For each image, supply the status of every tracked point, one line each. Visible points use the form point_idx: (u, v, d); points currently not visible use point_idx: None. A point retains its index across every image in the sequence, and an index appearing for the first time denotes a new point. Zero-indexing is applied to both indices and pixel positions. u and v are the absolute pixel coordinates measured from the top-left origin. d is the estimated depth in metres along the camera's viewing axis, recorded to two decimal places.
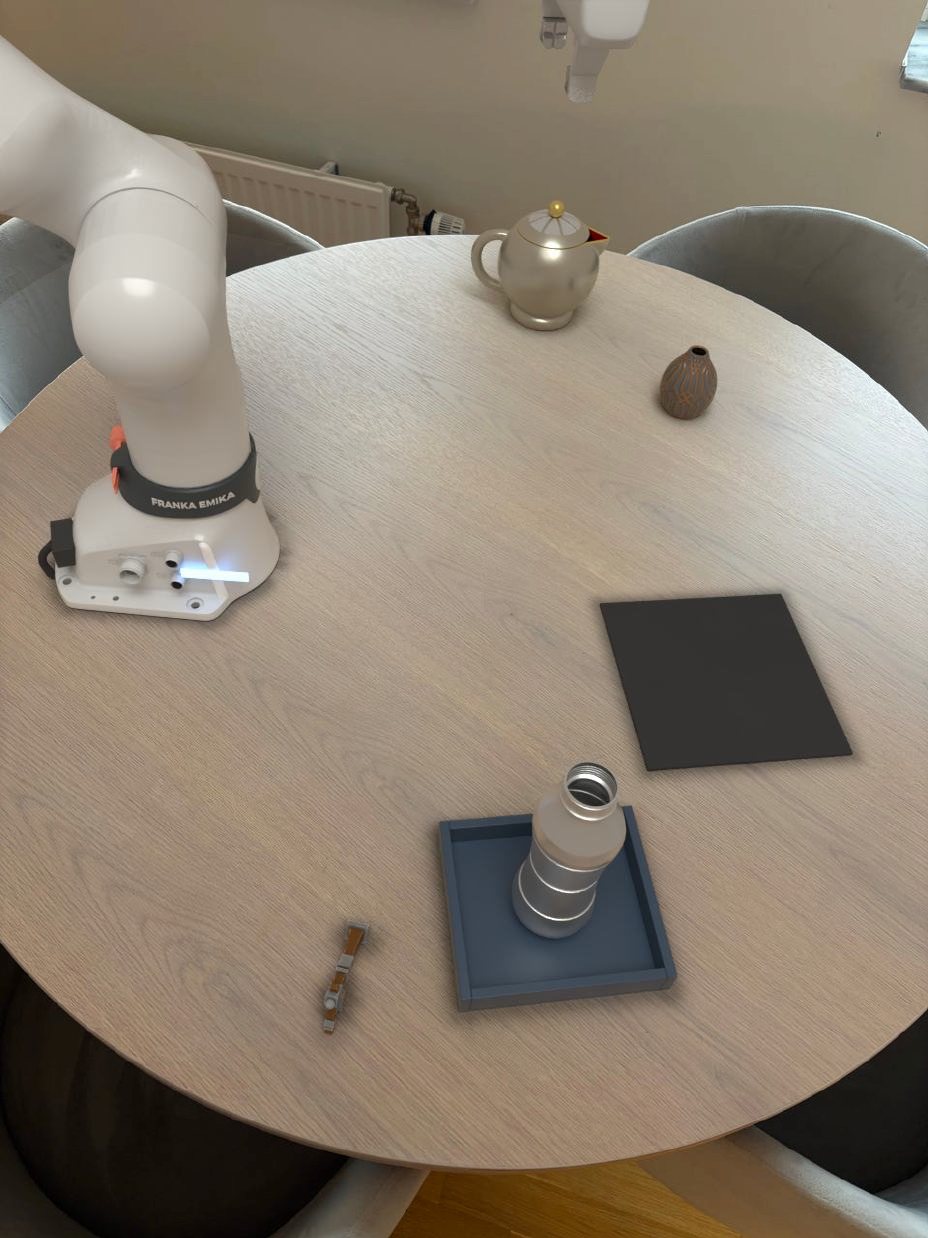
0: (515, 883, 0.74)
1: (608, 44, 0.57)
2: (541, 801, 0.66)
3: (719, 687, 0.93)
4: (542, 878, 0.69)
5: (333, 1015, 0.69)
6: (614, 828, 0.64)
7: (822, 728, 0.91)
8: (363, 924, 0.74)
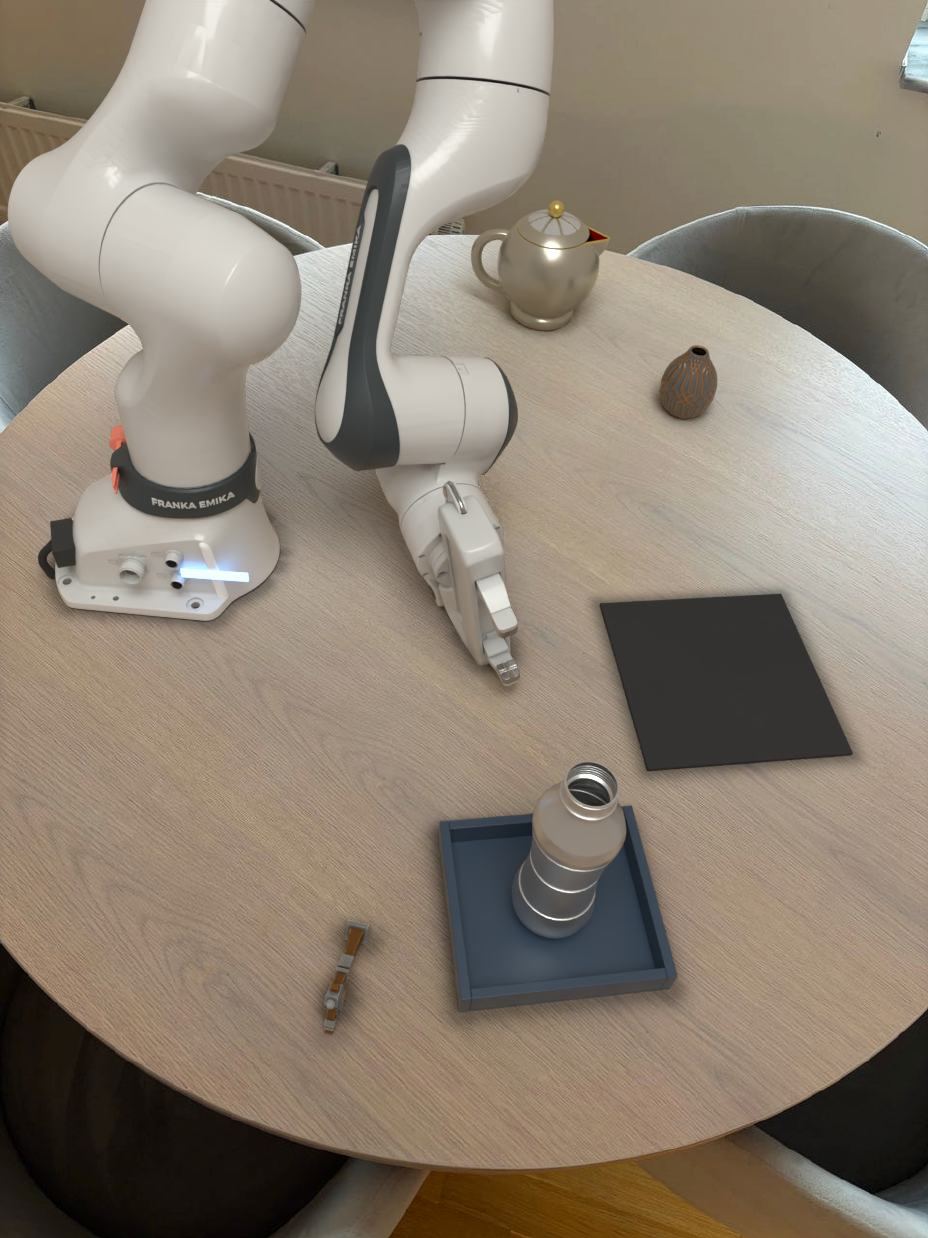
0: (515, 883, 0.74)
1: None
2: (541, 801, 0.66)
3: (719, 687, 0.93)
4: (542, 878, 0.69)
5: (333, 1015, 0.69)
6: (614, 827, 0.64)
7: (822, 728, 0.91)
8: (363, 924, 0.74)
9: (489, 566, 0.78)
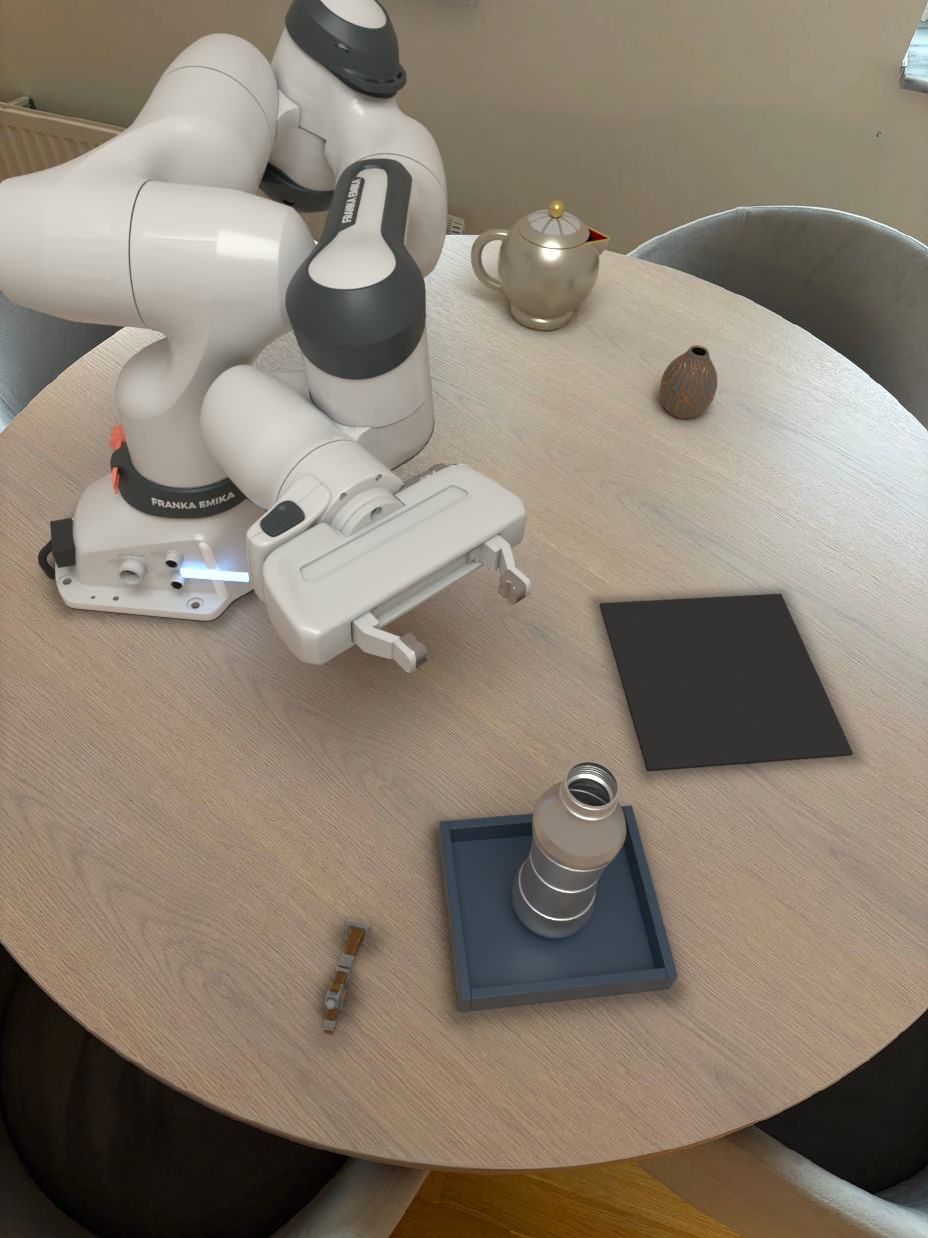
0: (515, 883, 0.74)
1: (308, 652, 0.62)
2: (541, 801, 0.66)
3: (719, 687, 0.93)
4: (542, 878, 0.69)
5: (334, 1015, 0.69)
6: (614, 827, 0.64)
7: (822, 728, 0.91)
8: (363, 924, 0.74)
9: (512, 537, 0.70)
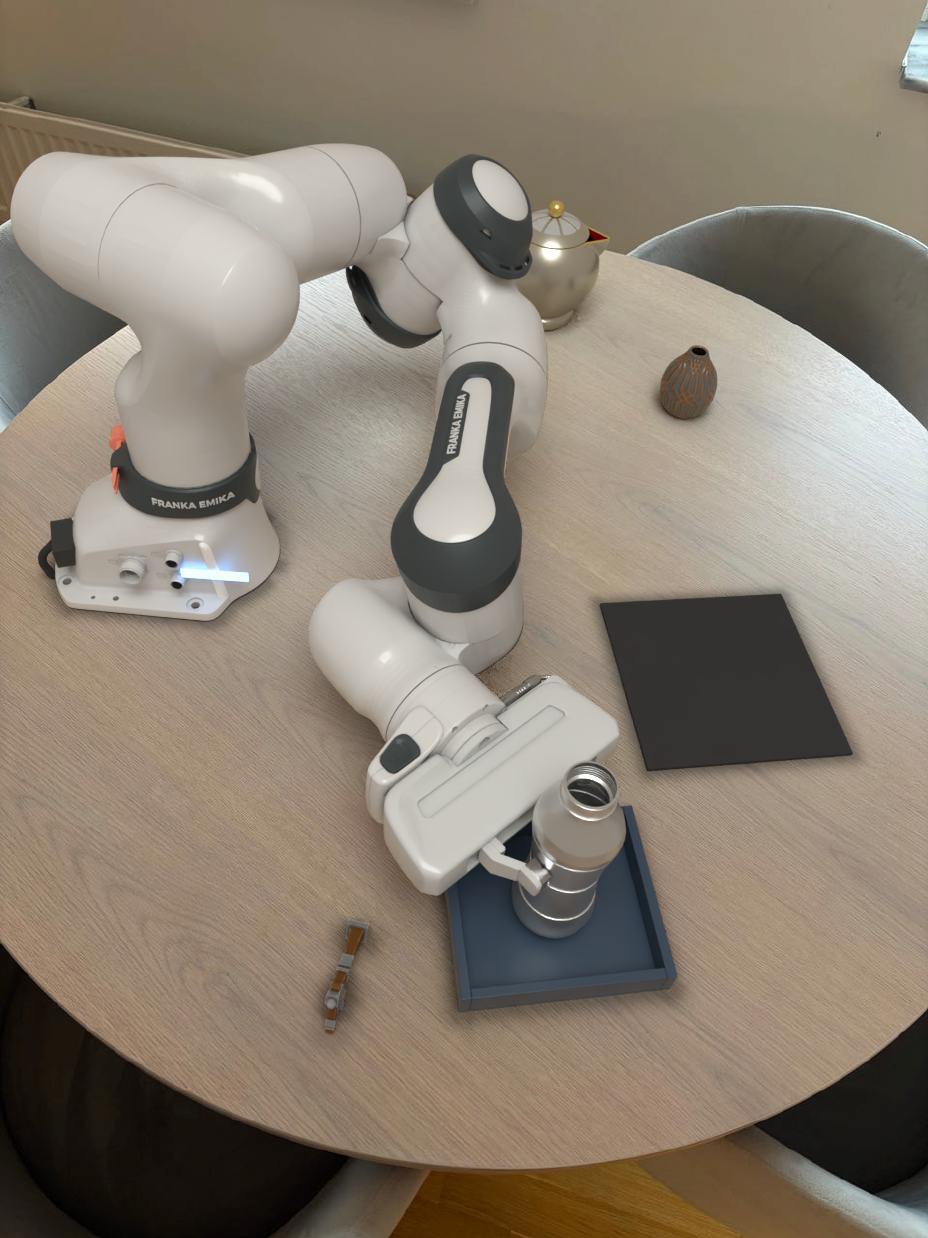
0: (515, 883, 0.74)
1: (429, 888, 0.66)
2: (541, 801, 0.66)
3: (719, 687, 0.93)
4: None
5: (334, 1014, 0.69)
6: (614, 828, 0.64)
7: (822, 728, 0.91)
8: (363, 923, 0.74)
9: (606, 755, 0.75)
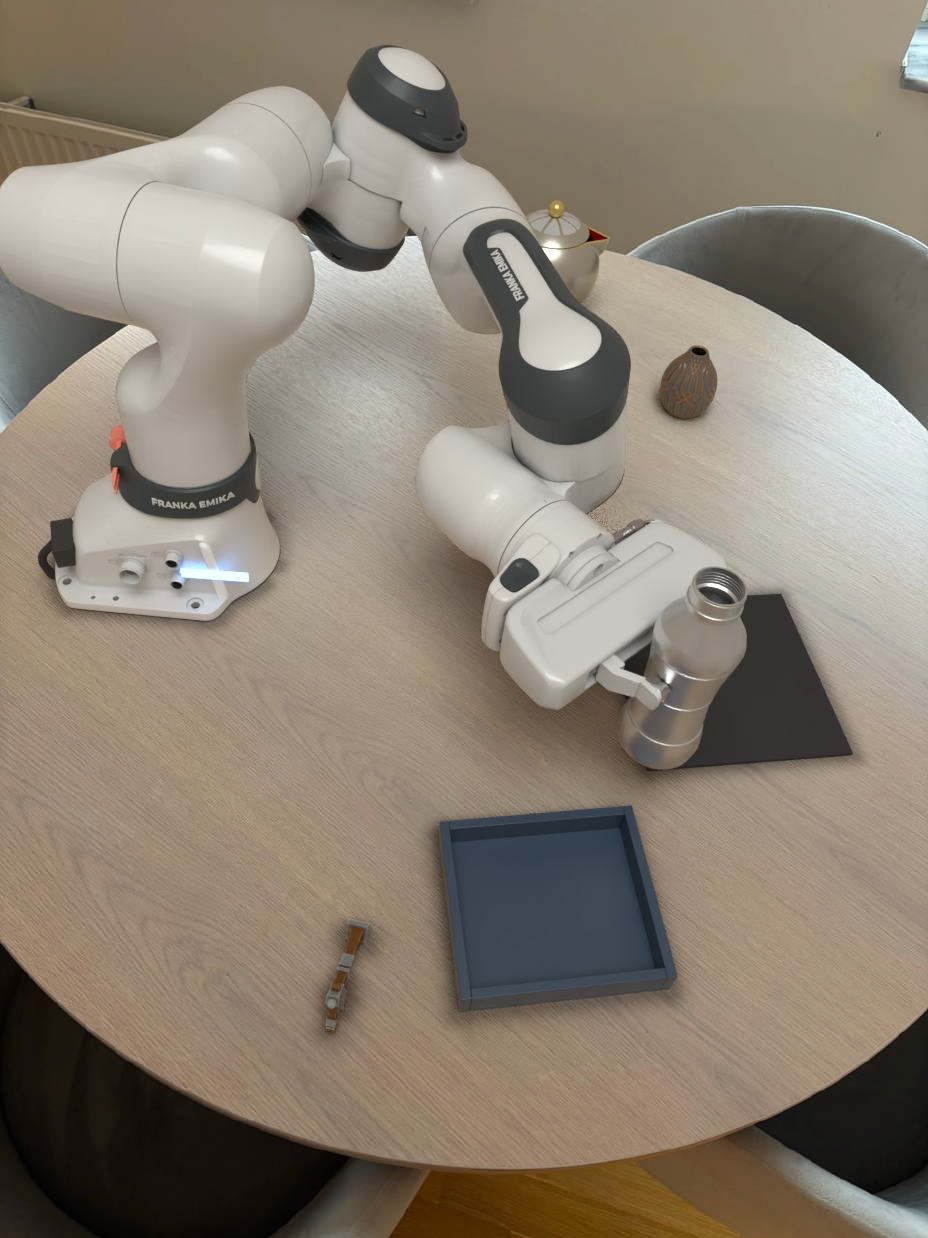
0: (623, 714, 0.76)
1: (552, 699, 0.68)
2: (663, 613, 0.67)
3: None
4: None
5: (335, 1014, 0.69)
6: (738, 634, 0.65)
7: (822, 728, 0.91)
8: (363, 923, 0.74)
9: None
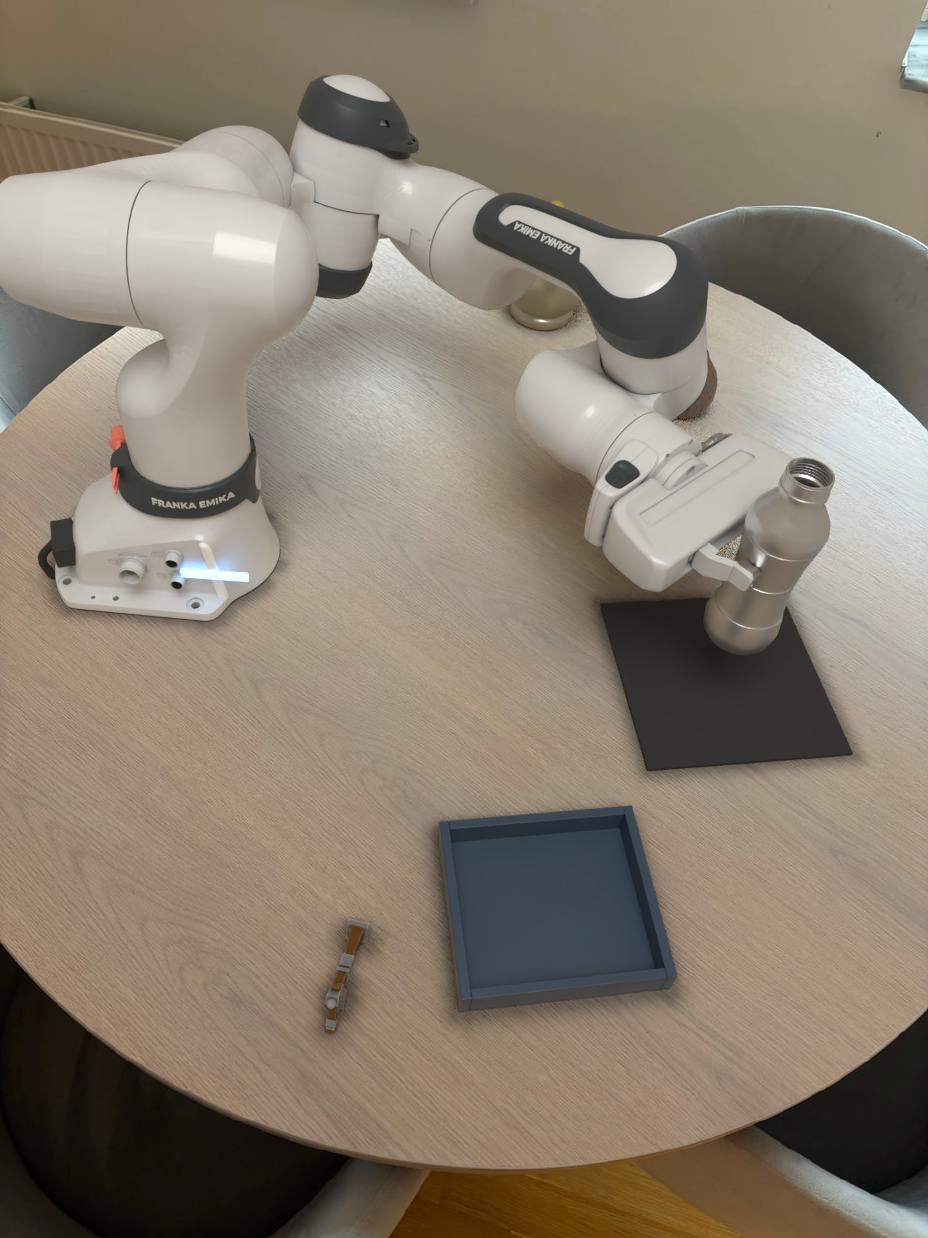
0: (711, 605, 0.84)
1: (656, 580, 0.76)
2: (756, 502, 0.75)
3: (719, 687, 0.93)
4: None
5: (335, 1014, 0.69)
6: (825, 518, 0.74)
7: (822, 728, 0.91)
8: (363, 923, 0.74)
9: None
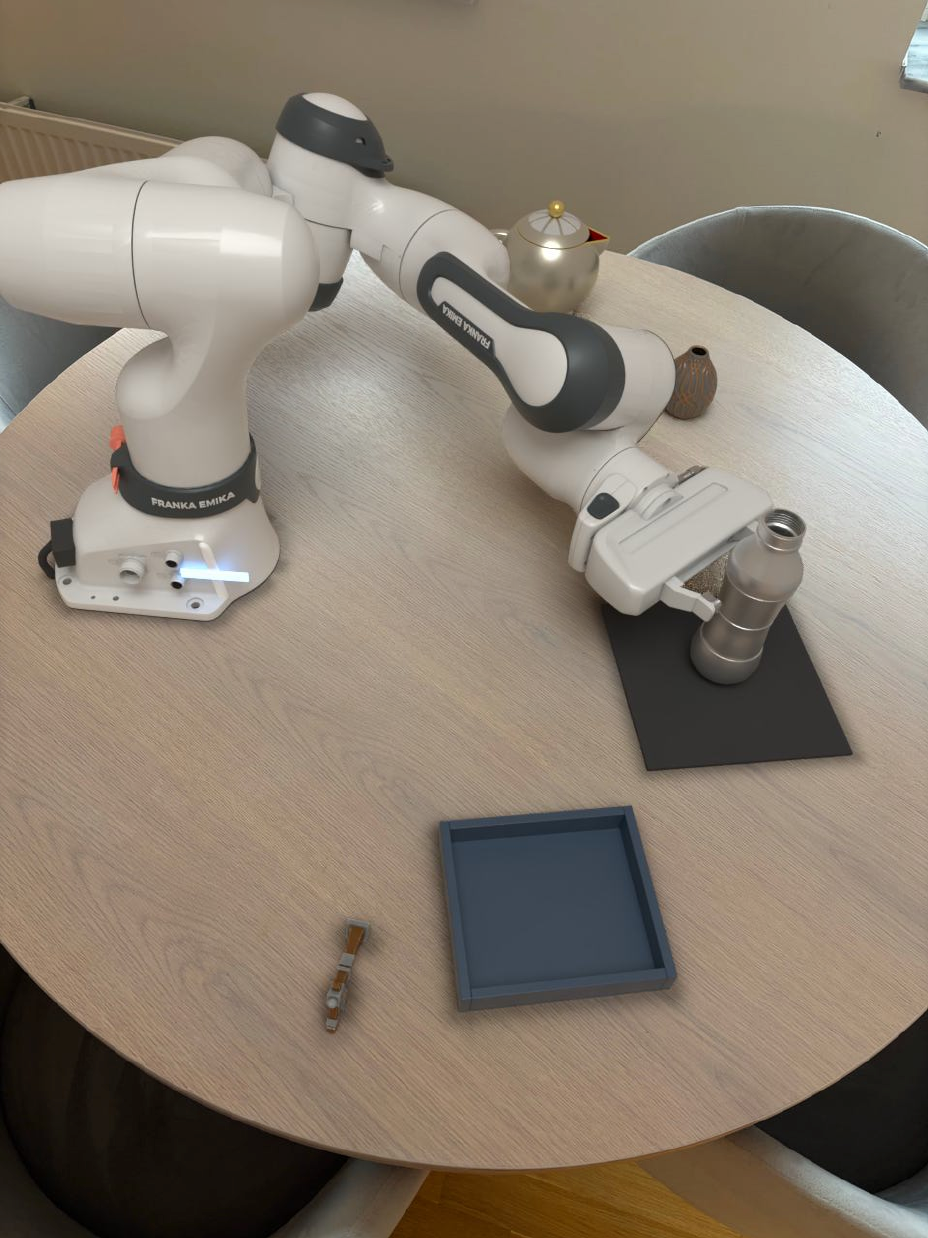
0: (696, 638, 0.92)
1: (633, 605, 0.82)
2: (736, 548, 0.83)
3: (719, 687, 0.93)
4: (729, 619, 0.86)
5: (335, 1014, 0.69)
6: (798, 563, 0.81)
7: (822, 728, 0.91)
8: (363, 923, 0.74)
9: None
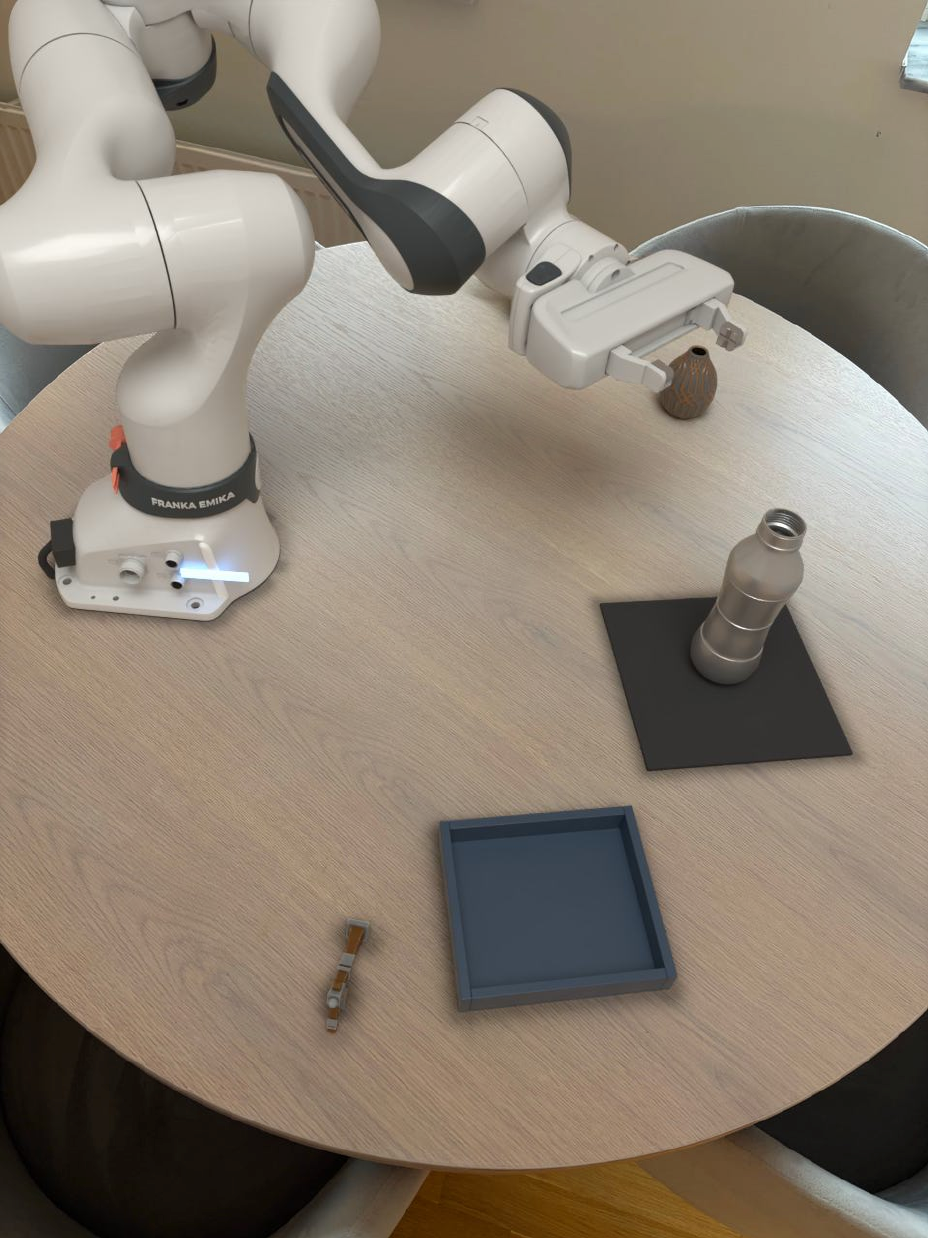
0: (696, 638, 0.92)
1: (575, 374, 0.74)
2: (736, 548, 0.83)
3: (719, 687, 0.93)
4: (729, 619, 0.86)
5: (336, 1014, 0.69)
6: (798, 563, 0.81)
7: (822, 728, 0.91)
8: (363, 922, 0.74)
9: None
